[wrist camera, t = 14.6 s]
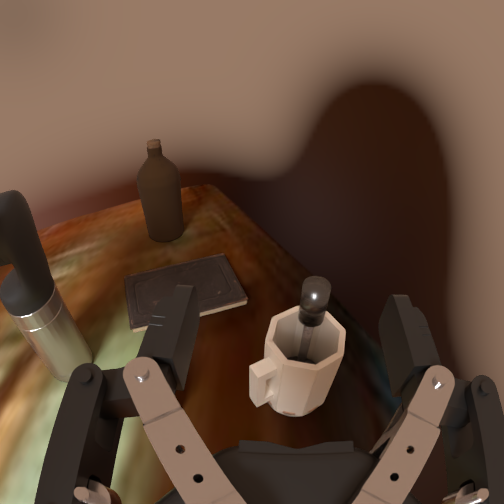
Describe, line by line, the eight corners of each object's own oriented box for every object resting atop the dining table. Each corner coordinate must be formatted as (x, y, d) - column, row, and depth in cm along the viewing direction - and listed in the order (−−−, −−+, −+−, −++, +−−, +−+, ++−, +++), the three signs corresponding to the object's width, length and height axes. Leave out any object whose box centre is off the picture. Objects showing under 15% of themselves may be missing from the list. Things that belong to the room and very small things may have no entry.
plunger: (265, 371, 45) (271, 277, 34) (302, 352, 48) (321, 257, 36) (291, 405, 40) (311, 319, 29) (329, 383, 43) (361, 293, 32)
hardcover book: (248, 306, 62) (248, 298, 61) (133, 336, 55) (130, 328, 54) (223, 259, 74) (222, 251, 72) (126, 282, 67) (123, 274, 66)
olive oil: (168, 248, 76) (153, 150, 61) (139, 236, 80) (121, 146, 65) (194, 227, 84) (185, 136, 68) (164, 217, 88) (153, 132, 72)
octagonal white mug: (237, 388, 47) (233, 333, 38) (301, 356, 52) (314, 297, 43) (269, 436, 40) (276, 394, 31) (336, 397, 45) (361, 344, 36)
